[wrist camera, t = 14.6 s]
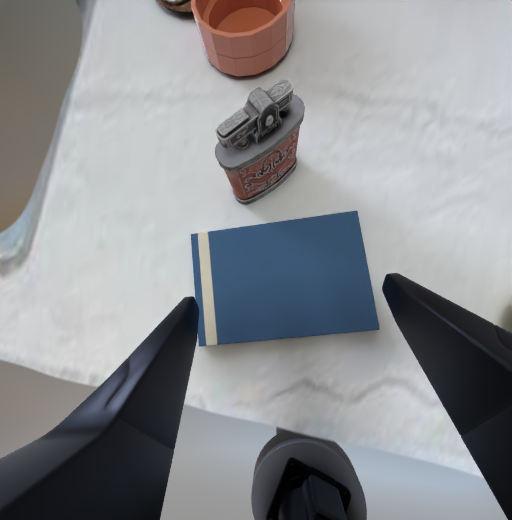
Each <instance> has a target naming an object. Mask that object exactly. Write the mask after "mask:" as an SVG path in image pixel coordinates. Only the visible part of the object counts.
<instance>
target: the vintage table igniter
mask: <svg viewBox="0 0 512 520" xmlns="http://www.w3.org/2000/svg"><path fill="white" fill-rule="evenodd" d="M292 93H293V85H292V83H291V82H290V81H289V80H288V79H285V78H283V79H281V80H279V81H278V82H276V83H275V84H274V85H272V86H271V87H270V88H268V89H267V90H266V91H265V90H262V89H261V88H256V89H255V90H254V91H252V92H251V94H250V95H249V97H248V100H247V103H246V104H245V106H244V107H243V108H241V109H240V110H238V111H237V112H236V113H234V114H233V115H232V116H230V117H229V118H228V119H226V120H225V121H224V122H222V123H221V124H220V125H219V126H218V127H217V128H216V134H217V137H218V139H219V142H218V144H217V145H216V148H215V155H216V158H217V160H218V162H219V164H220V166H221V167H222V168H223V169H224V170H225V172H226V175H227V177H228V179H229V181H230V183H231V186H232V188H233V194H234V196H235V198H236V200H237V201H238V202H239V203H241V204H246V205H247V204H250V203H252V202H254V201H256V200H258V199H260V198H262V197H264V196H265V195H267V194H268V193H270V192H271V191H273V190H274V189H275V188H277V187H278V186H279V185H280V184H281V183H282V182H284V181H285V180H286V179H287V177H288V176H289V175H290V174H291V173H292V172H293V171H294V170H295V168H296V162H297V158H296V150H297V143H298V136H299V128H300V125H301V123H302V121H303V117H304V110H305V107H304V103H303V101H302V100H301V99H300V98H299V97H298V96H297V95H294V94H292Z"/></svg>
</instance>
